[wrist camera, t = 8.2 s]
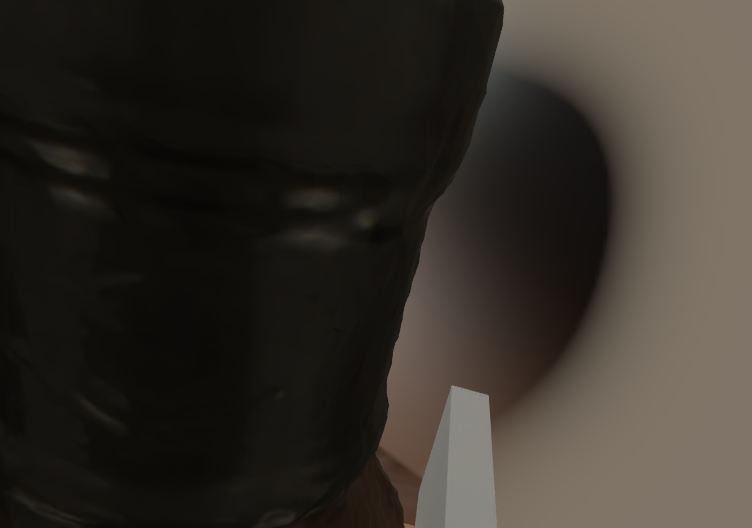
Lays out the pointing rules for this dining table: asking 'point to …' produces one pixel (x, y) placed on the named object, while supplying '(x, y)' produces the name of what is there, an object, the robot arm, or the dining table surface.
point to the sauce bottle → (217, 249)
